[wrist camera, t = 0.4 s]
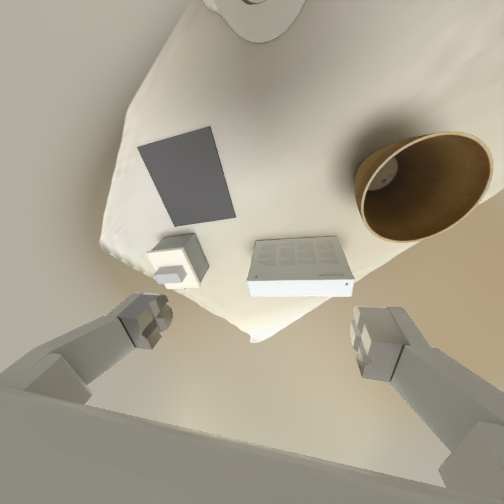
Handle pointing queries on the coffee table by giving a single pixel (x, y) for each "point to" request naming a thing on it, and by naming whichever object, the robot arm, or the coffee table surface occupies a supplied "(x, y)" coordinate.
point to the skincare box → (300, 268)
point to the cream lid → (173, 268)
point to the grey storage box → (187, 251)
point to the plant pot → (422, 185)
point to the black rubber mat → (189, 177)
